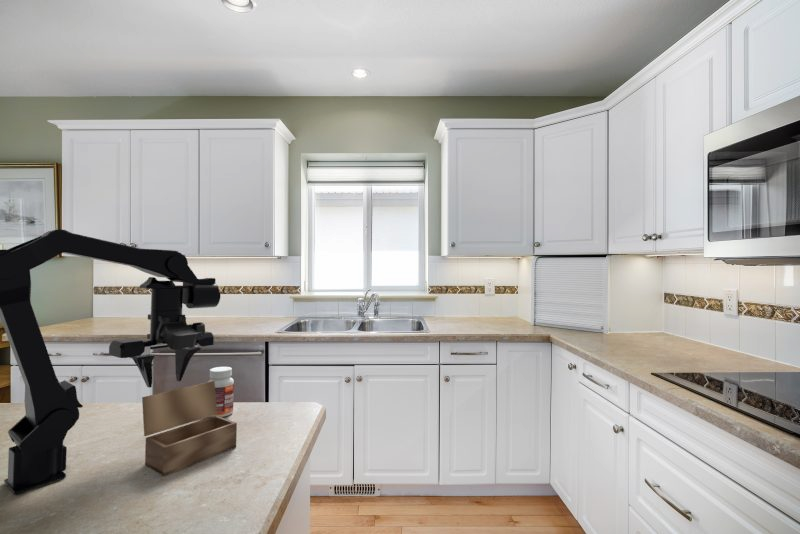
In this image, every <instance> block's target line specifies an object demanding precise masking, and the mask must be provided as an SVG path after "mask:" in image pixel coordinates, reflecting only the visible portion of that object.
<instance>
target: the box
mask: <svg viewBox="0 0 800 534" xmlns="http://www.w3.org/2000/svg"><path fill="white" fill-rule="evenodd" d="M237 423H238V422H235V421H232V420H231V419H227V418H225V417H220V416H214V417H206V418H203V419H200V420H197V421H194V422H190V423H187V424H184V425H181V426H178V427H175V428H171V429H168V430H165V431H162V432H159V433H155V434H152V435H149V436H146V437H145V446H144V447H145V450H144V452H145V453H144V454H145V455H144V466H146V467H147V468H149V469H151V470H152V471H154V472H156V473H158V474H159V475H161V476H162V477H166V476H169V475H171V474H174V473H177V472H179V471H181V470H184V469H186V468H188V467H189V468H190V467H191V466H194V465H196V464H198V463H202V462H203V461H206V460H209V459H211V458H213V457H216V456H218V455H221V454H223V453H226V452H228V451H231V450H233V449H236V448H237V429H238V428H237V427H238V426H237V425H238V424H237Z"/></svg>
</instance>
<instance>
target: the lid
mask: <svg viewBox="0 0 800 534" xmlns="http://www.w3.org/2000/svg"><path fill="white" fill-rule="evenodd" d="M141 399H142V420H143V436H144V437H149V436H152V435H156V434H159V433H162V432H165V431H168V430H172V429H175V428H178V427H181V426H184V425H188V424H191V423H194V422H197V421H201V420H204V419H207V418H210V417H209V416H212V415H216V414H217V408H216V395H215V381H210V382H208V381H206V382H203V383H198V384H194V385H190V386H185V387H182V388H176V389H173V390H168V391H164V392H159V393H156V394H152V395H147V396H142V398H141Z"/></svg>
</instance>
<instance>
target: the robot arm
mask: <svg viewBox="0 0 800 534" xmlns="http://www.w3.org/2000/svg"><path fill="white" fill-rule="evenodd" d="M61 254H64V255H65V254H66V255H70V256H75V257H81V258H86V259H90V260H96V261H103V262H107V263H112V264H116V265H117V264H118V265H123V266H127V267H128V266H129V267H130V268H134V269H136V270H137V271H138V270H139V271H141V272H143V273H146V274H148V275H152V276H149V277H148V278H147V279H146V280H145V281H144V282H142V284H140V285H139V288H140V289H146V290H151V295H150V297H151V299H150V313H149V314H147V320H149V321H150V327H149V329H150V330H149V333H147V334H146V339H147V340H141V339H137V338H123V339H114V340H112V341H111V342H110V344H109V346H108V355H109V356H113V357H115V358H119V359H127V358H129V359H132V360H133V362H134V363H135V365H136V366H137V369H138V370H139V372H140V375H141V377H142V379H143V381H144V382H145V385H146V387H147V388H149V389H150V388H152V386H153V385H152V384H153V360H154V358H155V355H154V354H151V350H156V349H162V348H163V349H165V348H169V349H170V350H172V351H175V352H174V355H175V357H174V358H175V359H174V360H175V378H176V382H182V379H183V377H184V375H185V372H186V370H187V367H188V365H189V362H190V361H191V359H192V357H193V356H194V355H195V354H196V353H197V352H199V351H201V350H202V347H203V348H204V347H209V346H214V345H215V336H214V333H212V331H206V324H205V323H203V322H193V323H191V324H187V323H188V322H187V317H186V314H183V305H185V307H186V308H187V309H202V308H203V309H204V308H206V309H207V308H215V307H217V306H218V305H219V303H220V300H221V292H220V289H219V286H218V285H217V283H216V278H215V277H204V278H199V277H197V276H196V274H195V273H194V272H193V270H192V269H191V267H190V266H189V265H188V264H189V262H188V258H187V257H186V255H185V254H184V253H183V252H181V251H178V250H172V249H170V250H169V249H168V250H167V249H158V248H157V249H154V248H153V249H152V248H140V247H135V246H131V245H126V244H122V243H118V242H112V241H108V240H104V239H100V238H95V237H92V236H86V235H83V234H78V233H73V232H71V231H69V230H66V229H53V230H48V231H46V232H44V233H43V234H42V235H39V236H38V237H35V238H32V239H30V240H27V241H25V242H23V243H20V244H18V245H15V246H13V247H10V248H8V249H7V248H6V249H0V319H1V323H2V326H3V328H4V329H3V330H5V334H6V337H7V339H8V342H9V345H10V347H11V350H12V351H11V352H12V354H13V356H14V358H15V361H16V365H17V366H18V369H19V372H20V376H21V377H22V381H23V383H24V398H23V399H24V409H25V415H24V416H23V417H22V418H21V419H19V421H18V422H16V423H15V424H14V425H13V426H11V428H10V429H9V430H8V431H7V434H8V437H9V438H10V439H11V442H13V443H14V444H15V445H14V446H11V447H9V448H8V464H7V465H8V466H7V478H5V479H4V480H3V483H4V485H5V486H6V487H7V488H8V490H10V491H11V493H12V494H14V495H17V494H18V495H19V494H21V493H24V492H27V491H30V490H33V489H36V488H40V487H43V486H46V485H48V484H51V483H53V482H56V481H60V480H63V479H65V478H66V477H67V475H66V473H65V470H67V454H68V453H67V449H68V448H67V447H68V446H65V445H64V440H65V438H66V436H67V434H68V431H70V430H71V429H72V428H73V427H75V425H76V424H77V421H79V419H80V409H82V408H83V407H84V405H83V404H81V403H80V401H79V399H78V392H77V387H76V386H75V385H74V384H72V383H71V382H68V381H67V380H66V379H65V380H62V381H61V382H60V380H59V379H58V377H57V375H56V371H55V369H54V366H53V363H52V361H51V358H50V354H49V352H48V349H47V346H46V343H45V341H44V338H43V335H42V331H41V328H40V326H39V323H38V320H37V317H36V314H35V312H34V309H33V305H32V300H31V297H32V295H31V292H32V280H31V270H33V269H34V268H37V267H38V266H40V265H43V264H44V263H46V262H48V261H50V260H51V259H53V258H55V257H57V256H58V255H61ZM156 277H157V278H166V279H167V280H158V279H157V278H156ZM175 283H182V285H181V284H180V285H176V284H175ZM199 346H200V347H199ZM79 408H80V409H79Z"/></svg>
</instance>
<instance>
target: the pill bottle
mask: <svg viewBox="0 0 800 534" xmlns="http://www.w3.org/2000/svg"><path fill="white" fill-rule="evenodd" d="M231 376H233V368H232V367H230V366H216V367H212V368H210V369H209V378H210V379H209V380H208V381H207V382H210V381H215V395H216V408H217V414H216V415H212V416H209V417H208V418H211V417H214V416H220V417H222V418H225V417H228V416H230V415H231V414H233V412H234V396H235V395H234V390H235V388H234V387H235V385H234V384H235V380H234V378H232V377H231Z"/></svg>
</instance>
